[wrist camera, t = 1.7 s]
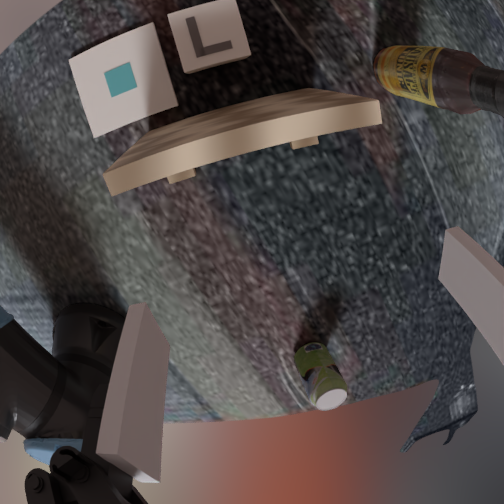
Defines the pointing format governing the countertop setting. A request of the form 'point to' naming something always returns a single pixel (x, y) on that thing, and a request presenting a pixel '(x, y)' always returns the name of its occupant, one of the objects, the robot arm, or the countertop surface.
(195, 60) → the letter cube
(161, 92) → the tile
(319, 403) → the beverage can
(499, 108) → the sauce bottle
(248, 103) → the screen
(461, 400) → the countertop surface
